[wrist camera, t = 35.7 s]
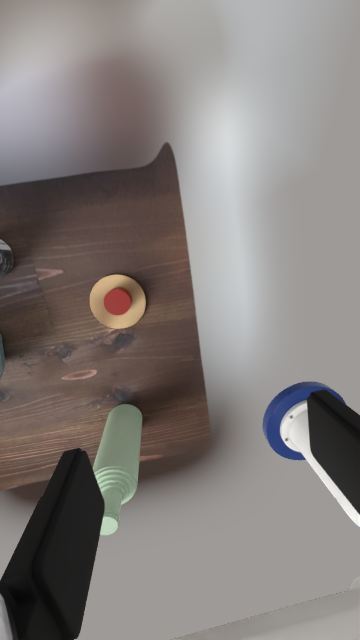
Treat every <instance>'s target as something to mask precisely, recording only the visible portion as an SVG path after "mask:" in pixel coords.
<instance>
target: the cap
mask: <svg viewBox="0 0 360 640" xmlns="http://www.w3.org/2000/svg"><path fill="white" fill-rule="evenodd" d="M131 304H132V296H131V294H130V292H129V291H128V290H126V289H125V288H122V287H116V288H114V289H112V290H110V291H109V292H108V293H107V294H106V295H105V297H104V307H105V309H106V310H107V311H108V312H109V313H110V314H112V315H117V316H118V315H123V314H125V313H126V312H127V311H128V310H129V308H130V306H131Z"/></svg>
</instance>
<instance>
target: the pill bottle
mask: <svg viewBox="0 0 360 640" xmlns="http://www.w3.org/2000/svg"><path fill="white" fill-rule="evenodd" d="M13 265H14V256H13V252H12V250H11V249H10V247H9V246H8V245H7V244H6V243H5V242H4V241H2V240H1V239H0V276H3V275H5V274H7V273H8V272H10V270H11V269H12V267H13Z"/></svg>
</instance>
